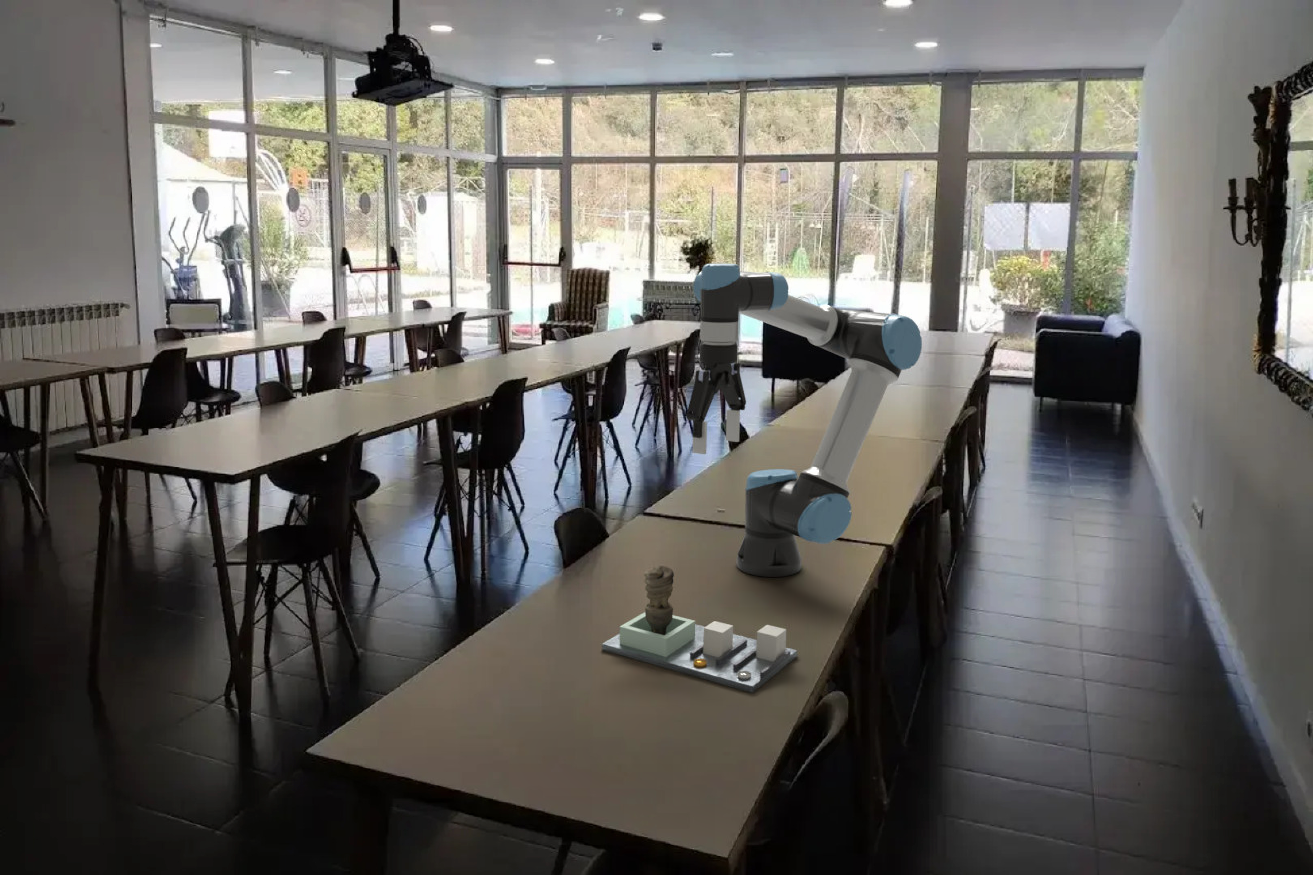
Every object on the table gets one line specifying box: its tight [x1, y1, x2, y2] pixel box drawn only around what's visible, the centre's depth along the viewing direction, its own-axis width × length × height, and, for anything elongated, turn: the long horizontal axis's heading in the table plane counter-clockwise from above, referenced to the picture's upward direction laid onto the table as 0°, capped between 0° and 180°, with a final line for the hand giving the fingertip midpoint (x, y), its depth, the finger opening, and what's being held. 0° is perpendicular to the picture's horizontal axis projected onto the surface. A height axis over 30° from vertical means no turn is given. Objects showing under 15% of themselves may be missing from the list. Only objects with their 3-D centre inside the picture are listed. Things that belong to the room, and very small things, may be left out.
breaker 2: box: [756, 624, 787, 661], centre depth 188 cm, size 4×4×5 cm
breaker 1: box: [703, 620, 734, 657], centre depth 189 cm, size 4×4×5 cm
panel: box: [601, 623, 798, 694], centre depth 192 cm, size 18×32×2 cm, turn 57°
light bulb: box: [643, 565, 675, 635], centre depth 193 cm, size 6×6×15 cm
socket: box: [619, 611, 696, 657], centre depth 194 cm, size 10×10×4 cm
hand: (716, 447), depth 207 cm, fingers open, 13 cm apart
